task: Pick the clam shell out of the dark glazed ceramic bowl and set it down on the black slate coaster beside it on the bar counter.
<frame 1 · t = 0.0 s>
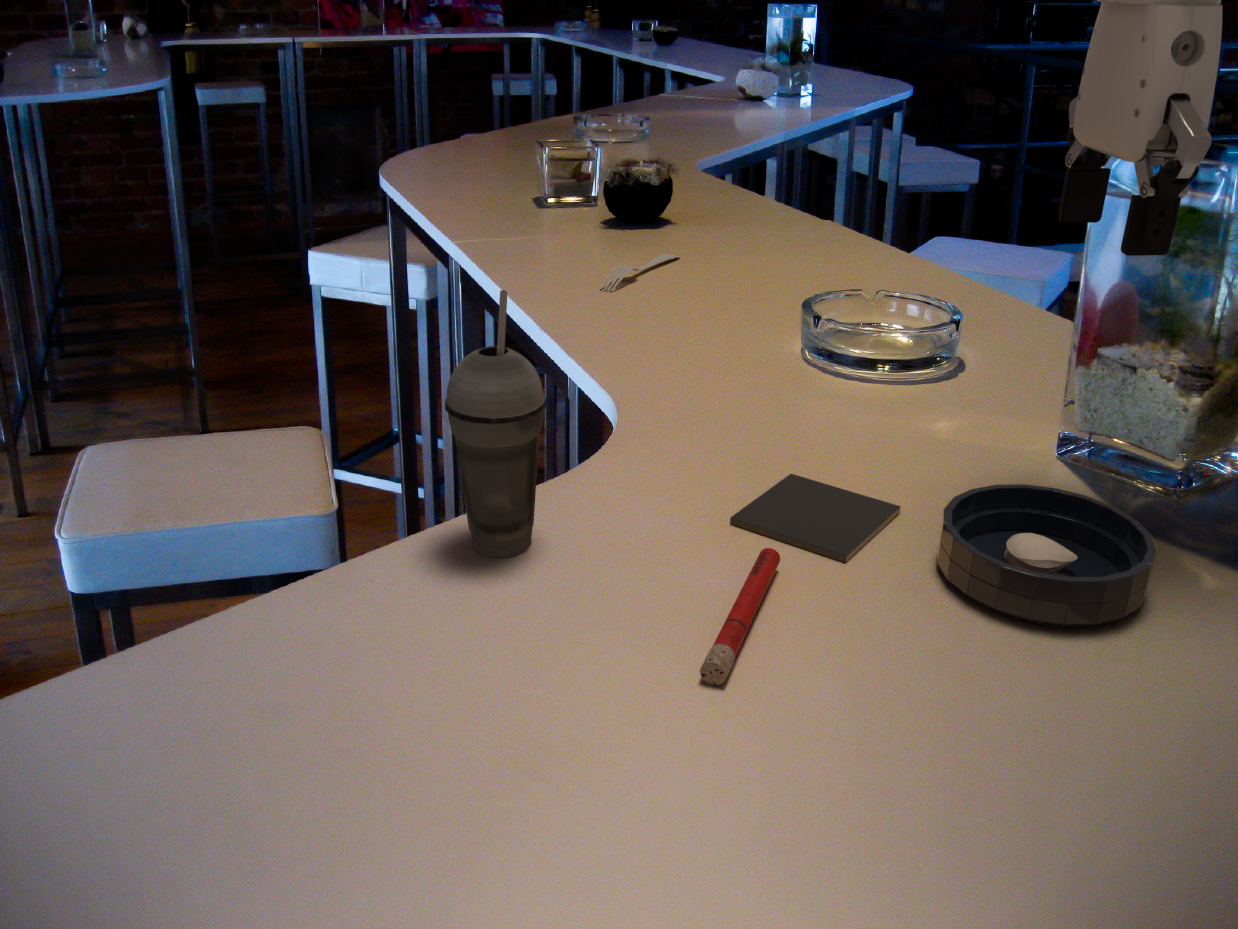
hand: (1109, 237, 79), 22 cm above the worktop, tool pointing down, fingers open, 9 cm apart
fork: (641, 274, 152), on the worktop
coaster: (815, 518, 87), on the worktop
beverage cup: (502, 545, 83), on the worktop
clam shell: (1038, 572, 79), resting on bowl
flare: (742, 624, 73), on the worktop
bowl: (1037, 577, 79), on the worktop
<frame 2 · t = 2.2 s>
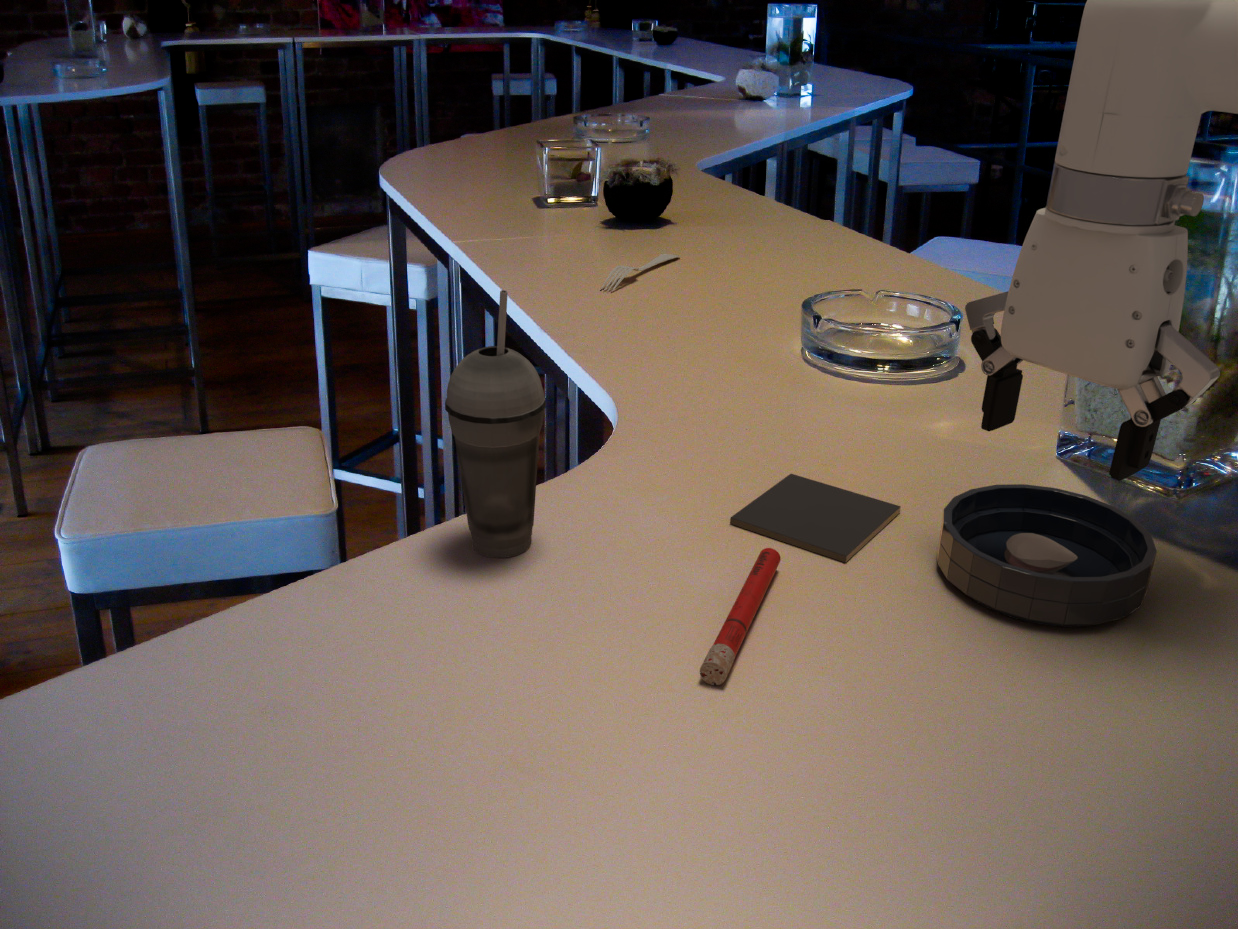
hand: (1058, 449, 74), 10 cm above the worktop, tool pointing down, fingers open, 9 cm apart
nothing on the worktop moved.
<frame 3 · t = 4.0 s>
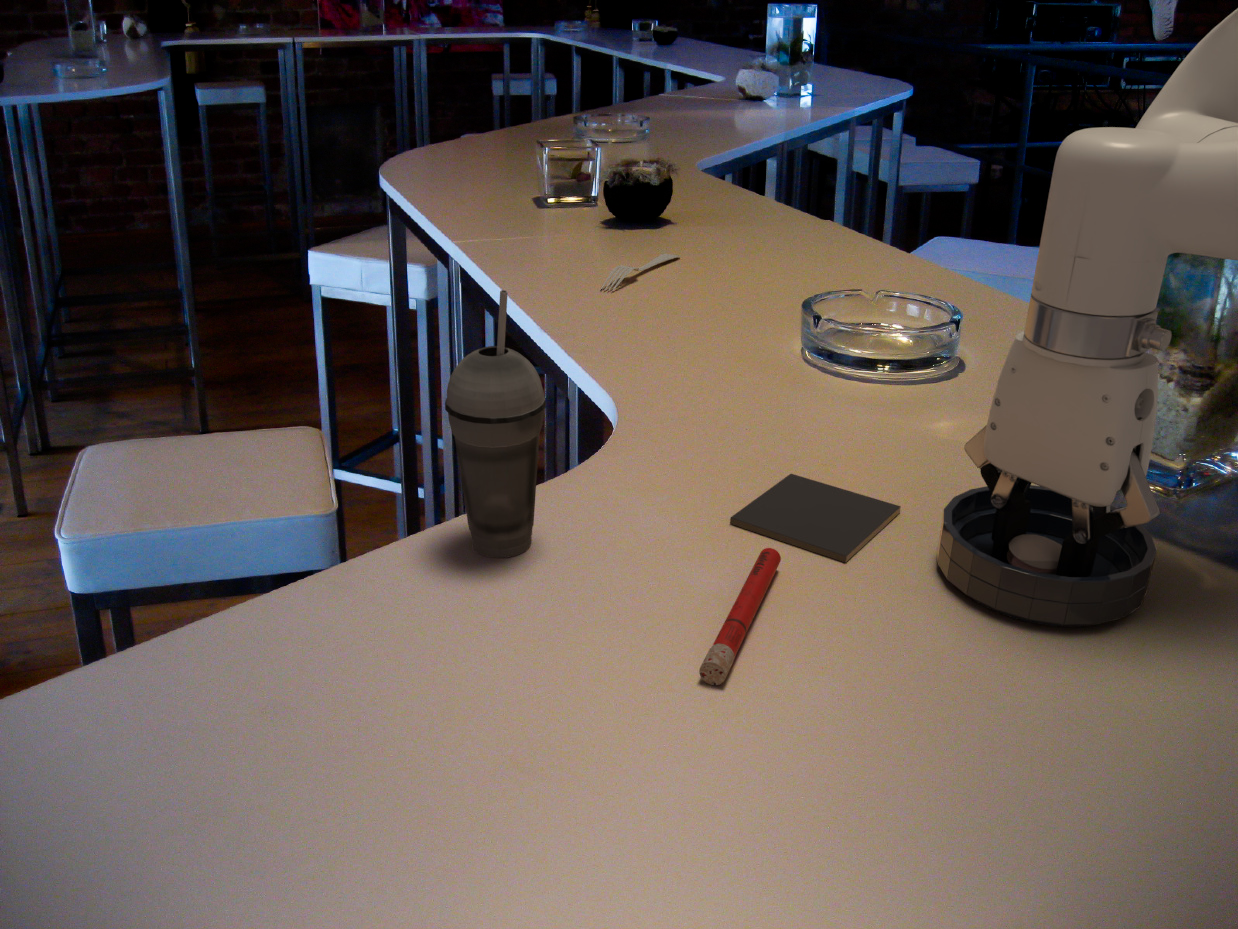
hand: (1037, 566, 79), 1 cm above the worktop, tool pointing down, fingers closed on clam shell, 4 cm apart
clam shell: (1040, 573, 79), resting on bowl, touching gripper
everything else where it was.
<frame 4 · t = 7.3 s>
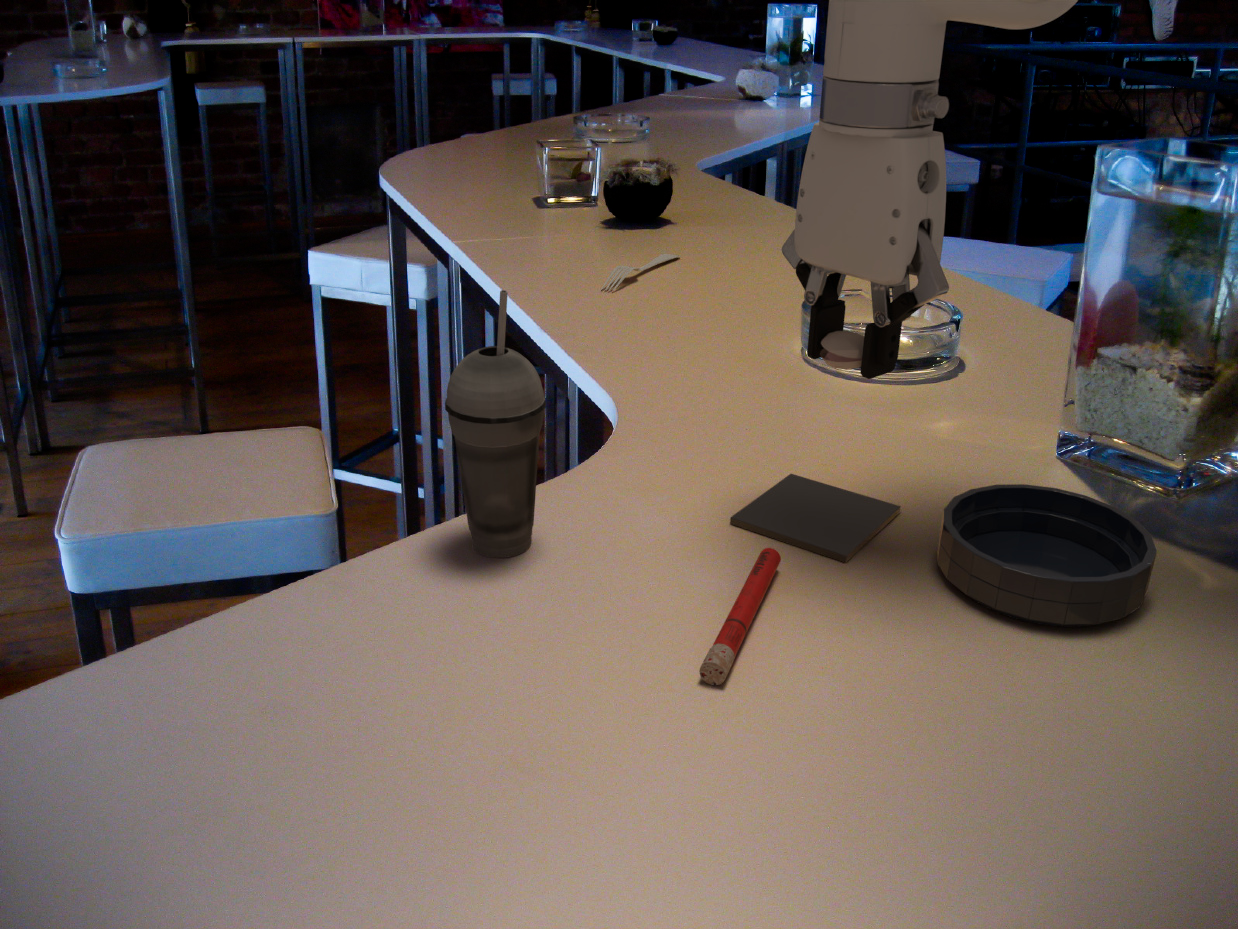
hand: (850, 361, 80), 14 cm above the worktop, tool pointing down, fingers closed on clam shell, 4 cm apart
clam shell: (852, 369, 80), point 13 cm above the worktop, touching gripper
everything else where it was.
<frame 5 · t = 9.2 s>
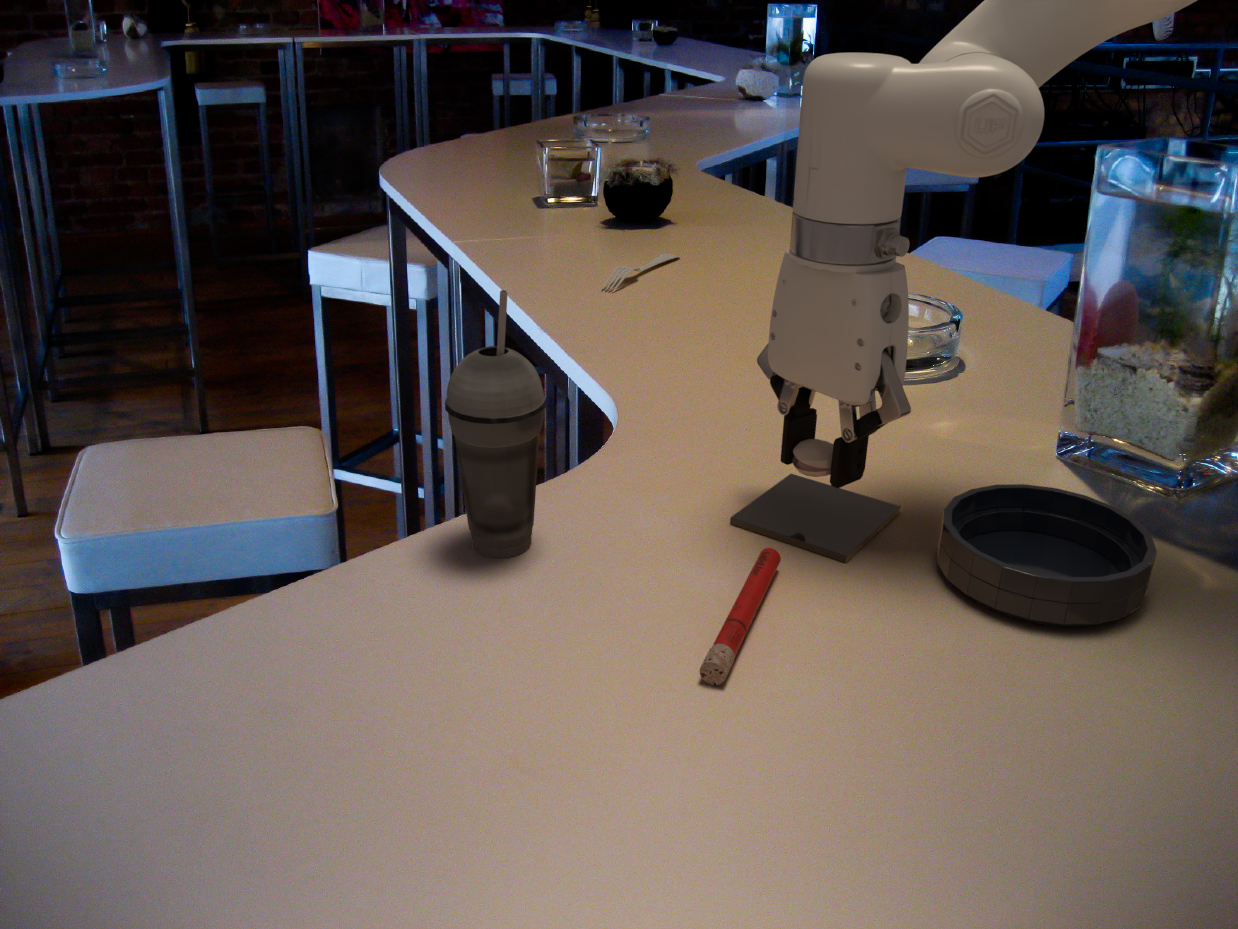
hand: (821, 468, 85), 4 cm above the worktop, tool pointing down, fingers closed on clam shell, 4 cm apart
clam shell: (823, 475, 85), point 4 cm above the worktop, touching gripper
everything else where it was.
when the fingers open (1 cm above the worktop, at t = 10.5 s): clam shell stays where it is, resting on coaster.
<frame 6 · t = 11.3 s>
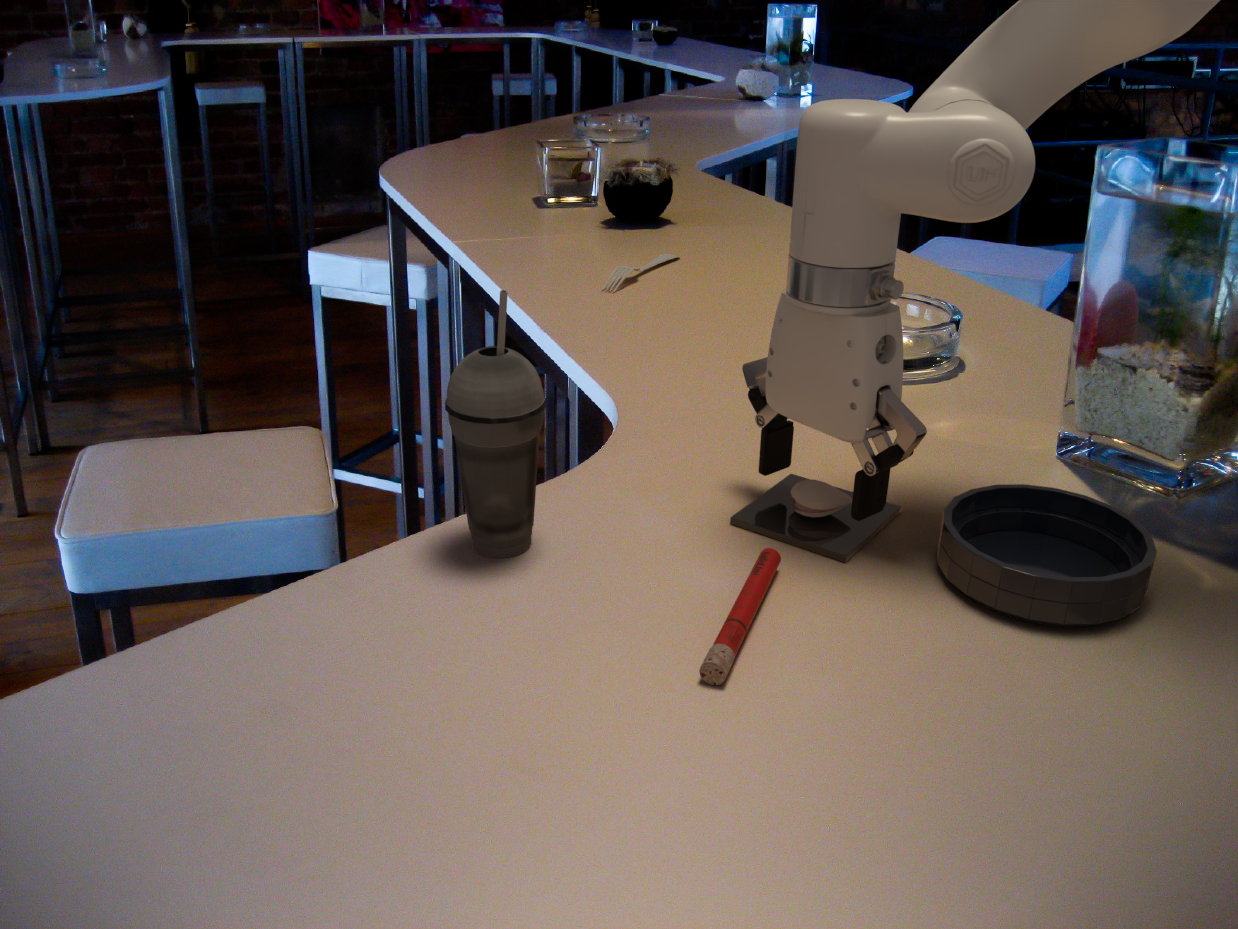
hand: (819, 491, 86), 2 cm above the worktop, tool pointing down, fingers open, 9 cm apart
clam shell: (820, 515, 86), resting on coaster
everything else where it was.
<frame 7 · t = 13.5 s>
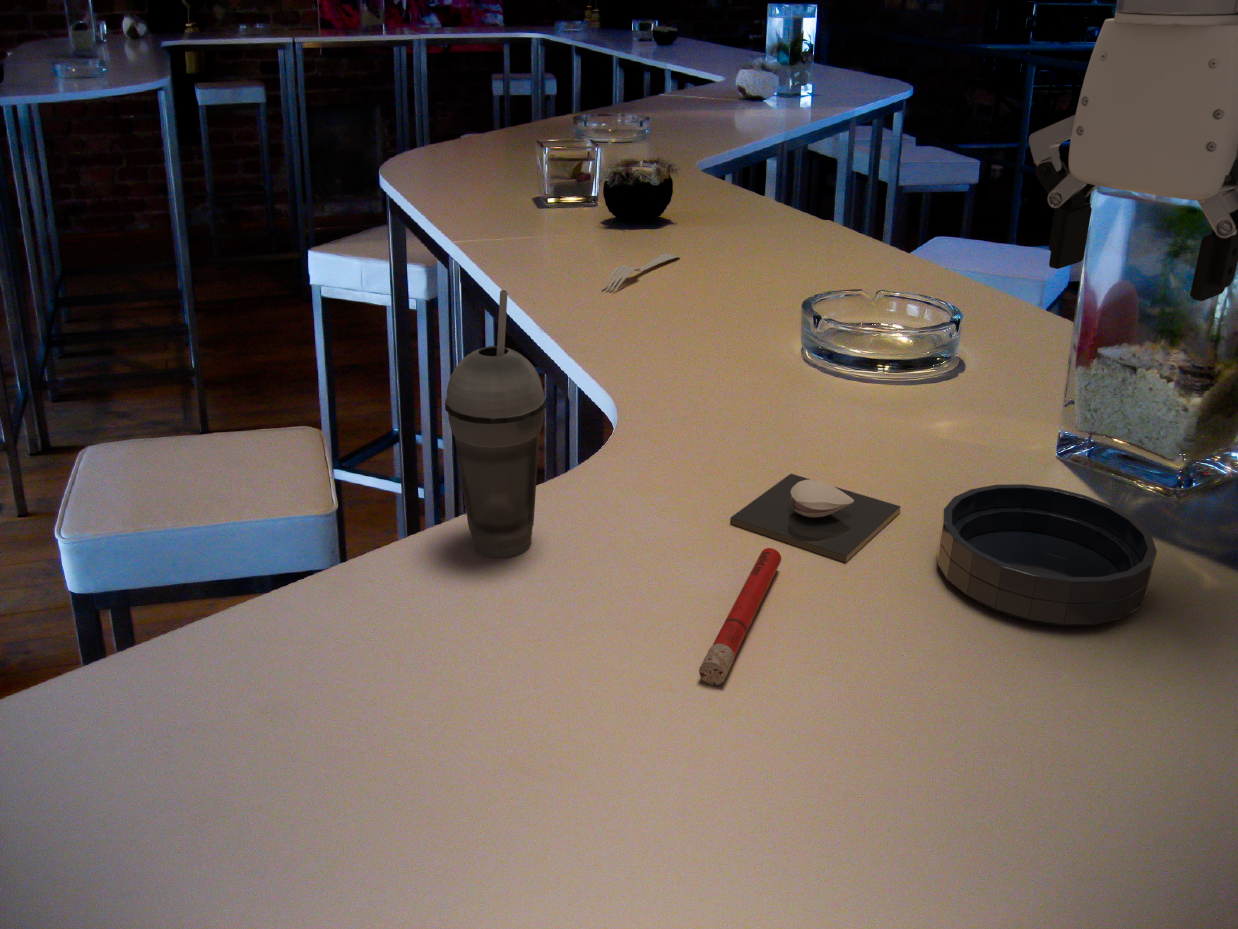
hand: (1132, 279, 71), 22 cm above the worktop, tool pointing down, fingers open, 9 cm apart
nothing on the worktop moved.
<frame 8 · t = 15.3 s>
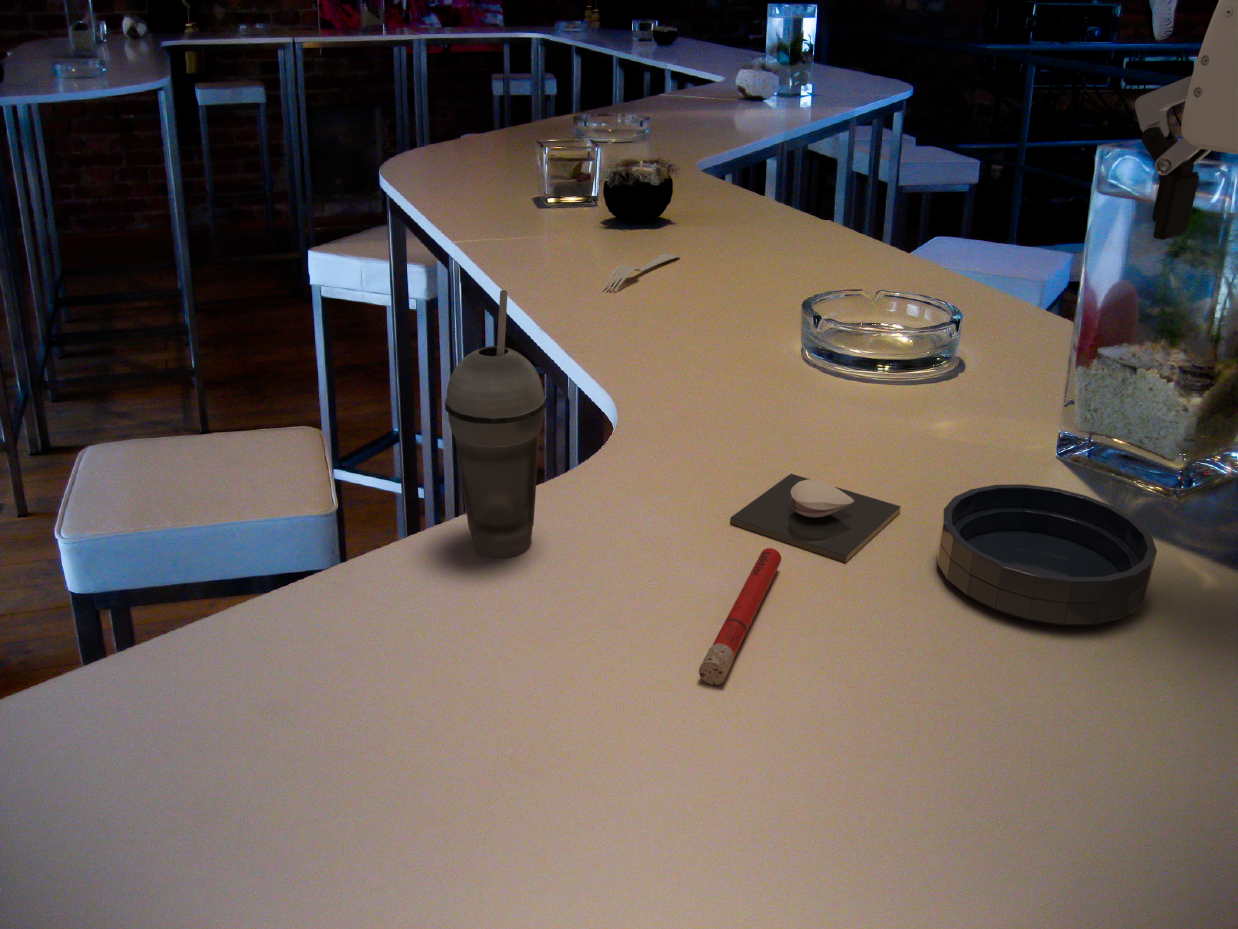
nothing on the worktop moved.
at the end: clam shell inside the target area on the coaster (0.4 cm from its centre), point 0.4 cm above the coaster's base; the gripper is holding nothing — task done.
